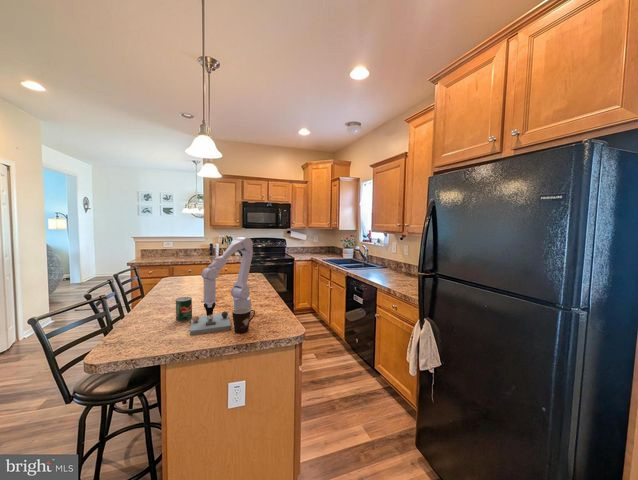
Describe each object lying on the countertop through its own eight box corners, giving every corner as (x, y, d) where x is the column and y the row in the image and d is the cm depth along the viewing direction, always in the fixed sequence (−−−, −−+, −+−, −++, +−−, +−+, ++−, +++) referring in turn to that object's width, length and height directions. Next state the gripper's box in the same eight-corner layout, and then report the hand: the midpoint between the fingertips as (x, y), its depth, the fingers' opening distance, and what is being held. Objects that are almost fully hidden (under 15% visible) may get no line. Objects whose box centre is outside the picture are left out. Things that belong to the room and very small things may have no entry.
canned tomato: (185, 322, 140) (185, 301, 140) (172, 320, 142) (172, 300, 141) (195, 317, 148) (195, 297, 147) (182, 315, 150) (182, 296, 149)
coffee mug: (234, 336, 123) (233, 314, 122) (230, 329, 131) (230, 309, 130) (259, 331, 128) (258, 311, 128) (254, 325, 136) (254, 306, 135)
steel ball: (213, 314, 136) (213, 320, 135) (213, 314, 139) (213, 321, 138) (206, 314, 136) (206, 320, 134) (207, 315, 138) (206, 321, 137)
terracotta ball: (199, 320, 137) (199, 314, 137) (199, 322, 134) (198, 316, 134) (192, 321, 136) (192, 314, 136) (192, 323, 133) (191, 316, 133)
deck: (227, 316, 149) (227, 312, 149) (231, 329, 131) (231, 325, 131) (192, 320, 142) (191, 317, 142) (190, 335, 124) (190, 331, 124)
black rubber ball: (227, 316, 144) (227, 310, 144) (228, 318, 141) (228, 312, 141) (221, 316, 143) (221, 310, 142) (221, 318, 140) (221, 312, 139)
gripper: (201, 288, 142) (201, 313, 143) (200, 295, 129) (200, 323, 130) (215, 287, 145) (215, 312, 146) (216, 294, 132) (216, 321, 132)
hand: (209, 317), depth 138 cm, fingers closed, pressing on steel ball
